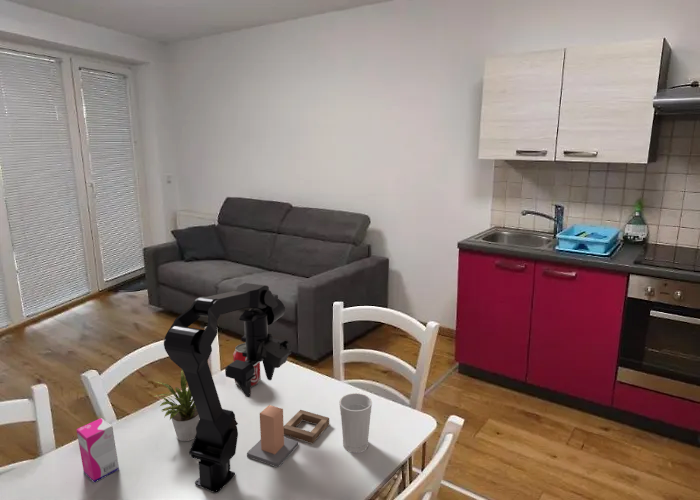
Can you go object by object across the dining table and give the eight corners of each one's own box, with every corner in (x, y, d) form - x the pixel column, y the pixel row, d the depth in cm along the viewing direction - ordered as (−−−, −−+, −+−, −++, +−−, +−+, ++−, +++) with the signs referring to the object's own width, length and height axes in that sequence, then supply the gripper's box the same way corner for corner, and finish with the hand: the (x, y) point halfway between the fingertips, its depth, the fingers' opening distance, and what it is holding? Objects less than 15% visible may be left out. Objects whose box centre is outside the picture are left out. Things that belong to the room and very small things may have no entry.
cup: (374, 437, 119) (375, 395, 117) (367, 457, 112) (367, 413, 109) (344, 432, 122) (344, 391, 119) (335, 451, 114) (335, 408, 111)
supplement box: (108, 458, 111) (102, 416, 109) (119, 469, 108) (113, 426, 105) (82, 471, 107) (75, 428, 104) (93, 483, 103) (86, 438, 101)
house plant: (153, 425, 124) (147, 370, 120) (206, 411, 130) (202, 358, 127) (159, 457, 112) (152, 396, 108) (217, 440, 118) (212, 382, 114)
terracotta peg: (275, 454, 112) (273, 417, 109) (261, 449, 113) (259, 413, 111) (284, 444, 115) (282, 408, 113) (270, 440, 117) (269, 404, 114)
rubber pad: (278, 467, 109) (278, 463, 108) (247, 456, 112) (246, 452, 112) (298, 445, 116) (298, 441, 116) (268, 435, 120) (268, 432, 120)
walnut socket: (312, 443, 117) (312, 436, 116) (282, 434, 121) (282, 427, 120) (329, 424, 125) (329, 417, 124) (300, 416, 129) (300, 409, 128)
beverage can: (242, 391, 141) (240, 355, 138) (230, 381, 147) (228, 346, 144) (265, 383, 146) (264, 347, 143) (252, 373, 152) (251, 339, 149)
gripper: (260, 353, 105) (263, 414, 108) (303, 324, 121) (304, 378, 125) (221, 344, 109) (225, 403, 113) (268, 317, 126) (270, 369, 130)
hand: (259, 388), depth 120 cm, fingers open, 9 cm apart
